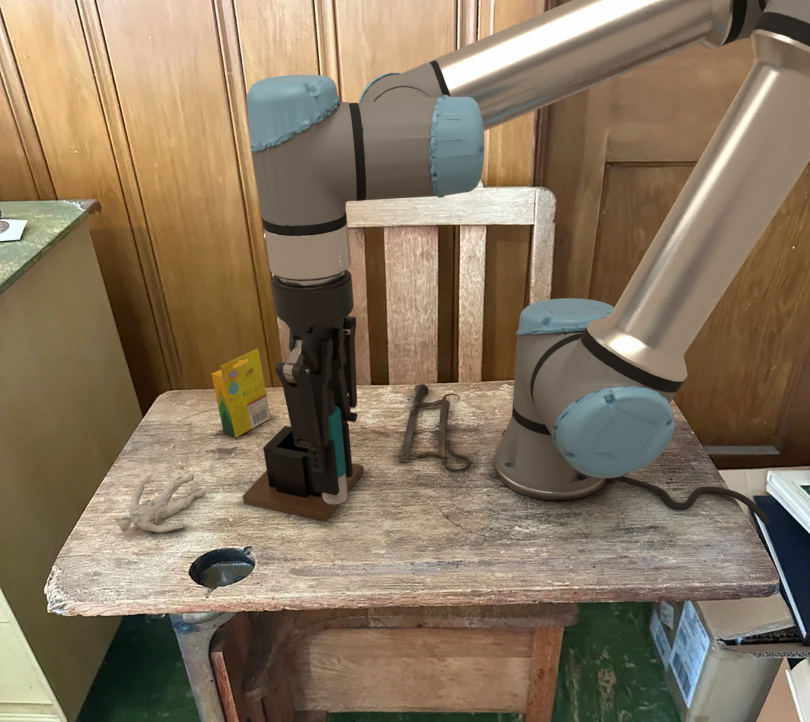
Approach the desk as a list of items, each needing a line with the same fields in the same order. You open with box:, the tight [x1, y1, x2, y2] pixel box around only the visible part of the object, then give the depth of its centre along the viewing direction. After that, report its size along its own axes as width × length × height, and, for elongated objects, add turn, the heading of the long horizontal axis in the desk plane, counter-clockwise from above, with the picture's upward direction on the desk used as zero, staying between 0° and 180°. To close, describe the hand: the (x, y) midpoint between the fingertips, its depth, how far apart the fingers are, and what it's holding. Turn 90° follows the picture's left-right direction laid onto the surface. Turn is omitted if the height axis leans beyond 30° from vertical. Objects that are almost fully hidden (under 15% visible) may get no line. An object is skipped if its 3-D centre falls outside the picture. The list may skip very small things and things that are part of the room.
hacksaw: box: [398, 383, 472, 473], centre depth 113 cm, size 24×10×2 cm, turn 173°
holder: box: [242, 425, 365, 522], centre depth 100 cm, size 12×12×7 cm
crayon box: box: [210, 348, 271, 439], centre depth 112 cm, size 7×3×12 cm, turn 141°
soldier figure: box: [114, 472, 206, 535], centre depth 96 cm, size 8×5×12 cm
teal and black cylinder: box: [322, 390, 349, 505], centre depth 82 cm, size 3×3×13 cm
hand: (333, 482), depth 85 cm, fingers closed on teal and black cylinder, 3 cm apart
